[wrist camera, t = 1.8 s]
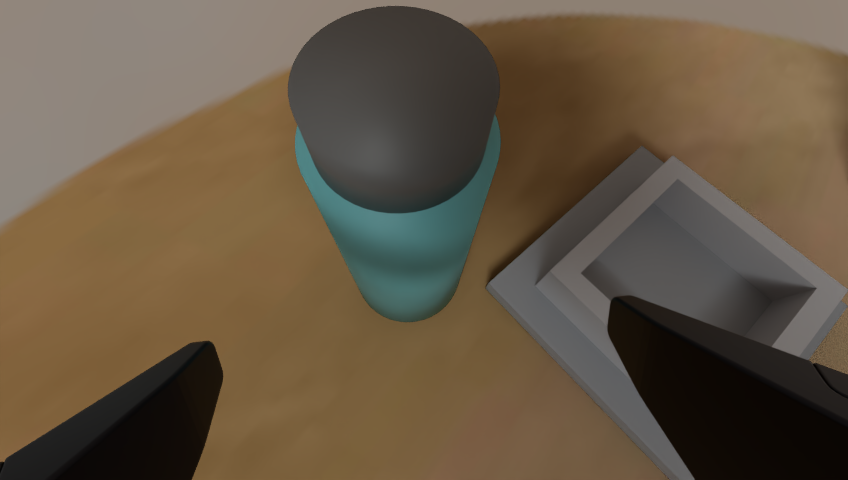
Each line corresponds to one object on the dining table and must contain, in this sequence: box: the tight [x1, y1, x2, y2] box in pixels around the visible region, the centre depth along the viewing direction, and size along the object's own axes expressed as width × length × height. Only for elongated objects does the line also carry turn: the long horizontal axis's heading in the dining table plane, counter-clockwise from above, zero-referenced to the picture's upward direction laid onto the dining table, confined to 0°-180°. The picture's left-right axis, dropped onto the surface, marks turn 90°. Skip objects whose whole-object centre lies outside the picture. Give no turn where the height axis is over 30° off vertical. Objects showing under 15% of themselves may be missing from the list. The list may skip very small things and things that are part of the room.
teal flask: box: [288, 6, 501, 322], centre depth 16 cm, size 6×6×14 cm
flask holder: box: [486, 146, 848, 480], centre depth 20 cm, size 13×13×4 cm
